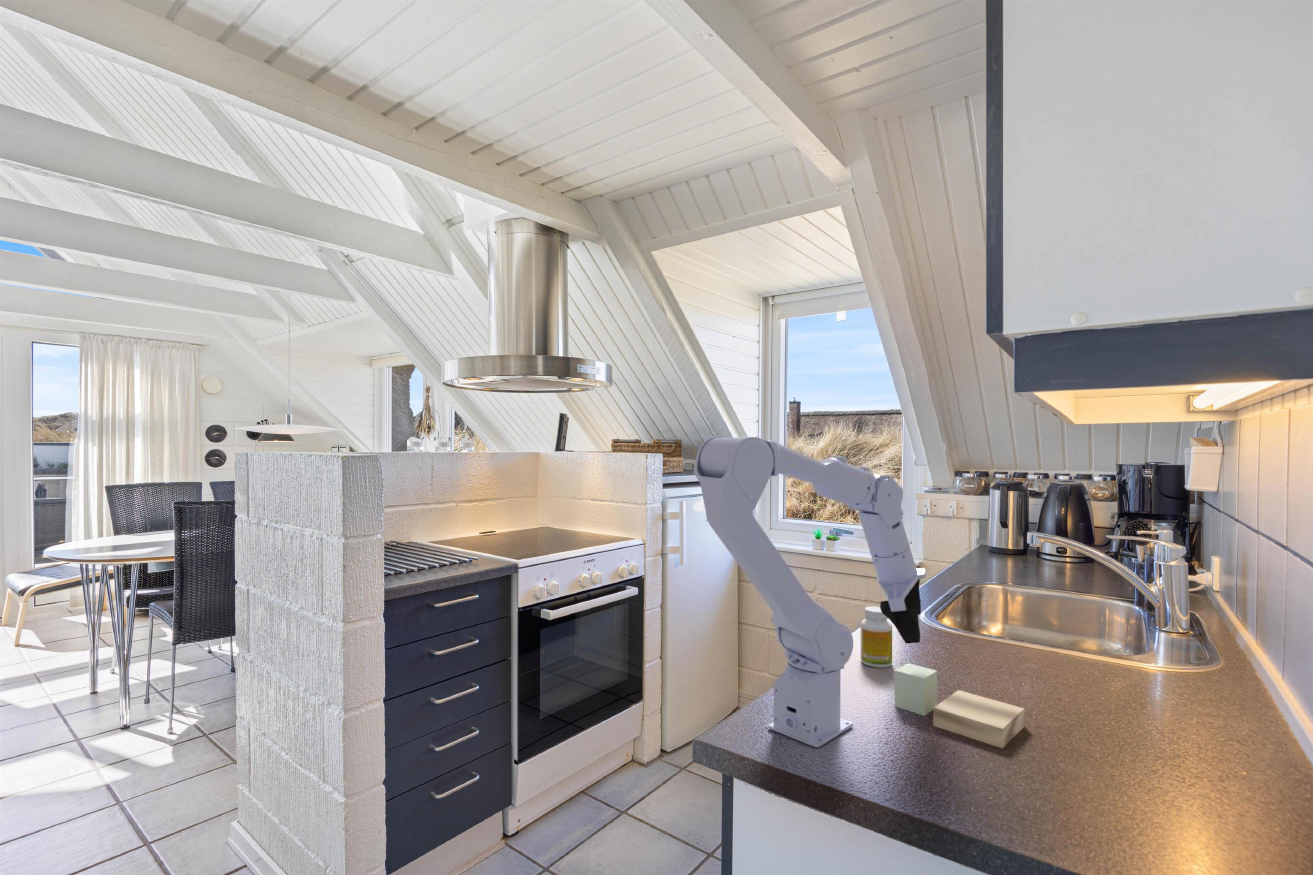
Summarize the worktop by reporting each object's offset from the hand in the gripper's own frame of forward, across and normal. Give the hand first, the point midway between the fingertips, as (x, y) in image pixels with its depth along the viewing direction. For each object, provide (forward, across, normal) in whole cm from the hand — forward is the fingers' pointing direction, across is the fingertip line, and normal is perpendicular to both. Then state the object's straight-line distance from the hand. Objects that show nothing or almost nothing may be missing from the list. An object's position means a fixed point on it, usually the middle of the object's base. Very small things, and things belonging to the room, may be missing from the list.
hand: (913, 627), depth 98 cm
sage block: (+10, -6, +2) cm, 12 cm away
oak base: (+11, -9, -6) cm, 16 cm away
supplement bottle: (+13, +11, +10) cm, 20 cm away
